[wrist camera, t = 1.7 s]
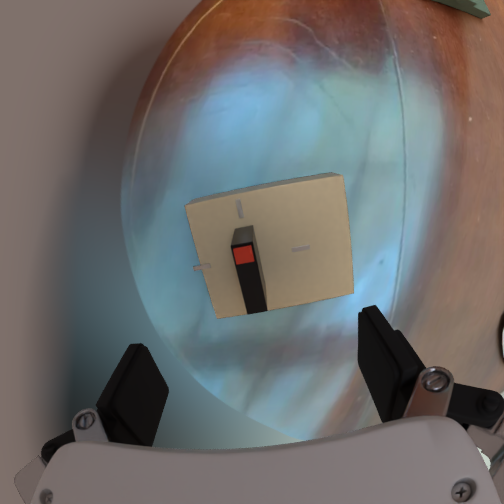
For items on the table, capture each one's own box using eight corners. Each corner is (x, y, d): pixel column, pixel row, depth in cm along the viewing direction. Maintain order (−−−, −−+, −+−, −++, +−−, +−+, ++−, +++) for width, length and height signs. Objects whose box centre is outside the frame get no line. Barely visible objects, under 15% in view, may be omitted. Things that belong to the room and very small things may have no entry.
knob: (265, 284, 22) (268, 313, 18) (248, 287, 22) (247, 316, 18) (253, 224, 20) (252, 242, 16) (234, 228, 20) (229, 247, 16)
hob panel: (214, 302, 26) (210, 321, 23) (186, 200, 23) (176, 207, 20) (344, 278, 25) (354, 294, 22) (332, 172, 22) (343, 175, 19)
